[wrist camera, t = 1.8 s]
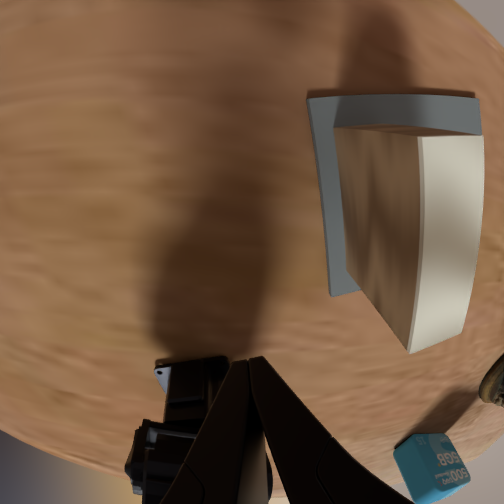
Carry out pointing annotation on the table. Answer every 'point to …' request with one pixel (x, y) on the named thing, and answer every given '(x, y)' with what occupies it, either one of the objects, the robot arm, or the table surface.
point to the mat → (363, 113)
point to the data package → (430, 467)
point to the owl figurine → (493, 384)
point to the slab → (412, 224)
